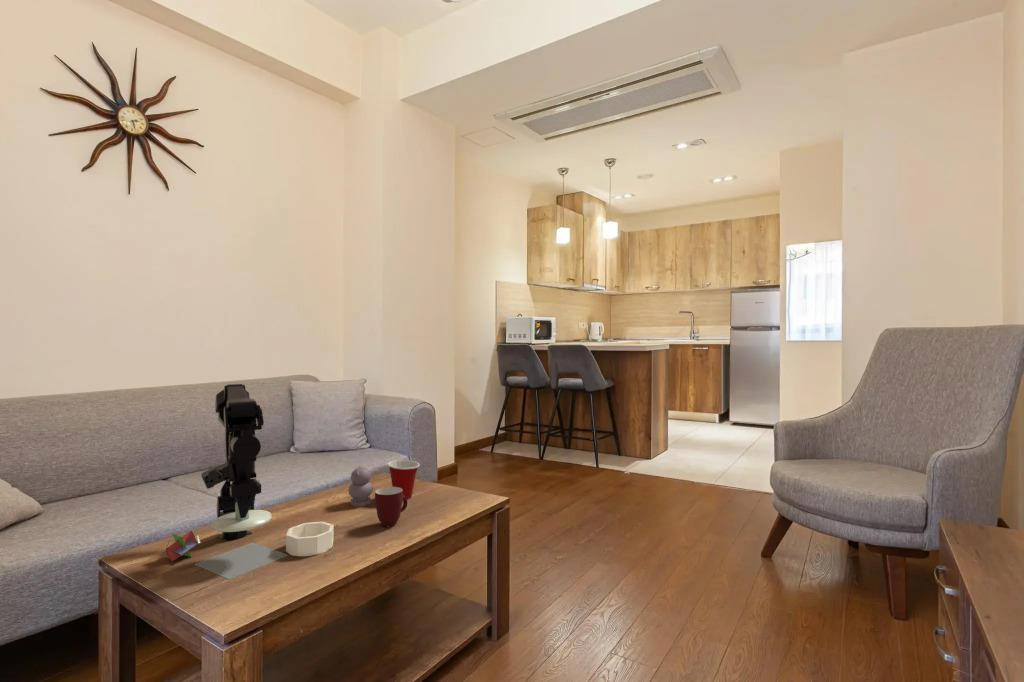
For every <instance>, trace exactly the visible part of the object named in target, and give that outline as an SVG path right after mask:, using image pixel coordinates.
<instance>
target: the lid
mask: <svg viewBox="0 0 1024 682" xmlns="http://www.w3.org/2000/svg"><path fill="white" fill-rule="evenodd" d="M271 520H272V513H271V512H270V511H268V510H264V509H263V510H262V509H254V510H249V511H248V513H247V515H246V517H245V518H240V514H239V509H238V504H237V502H236V503H235V512H233V513H229V514H226V515H223V516H220V517H218V518H217V517H216V518H215V519H214V520H212V521H211V525H210V526H211V529H212V530H213V531H216V532H221V533H223V532H237V531H244V530H247V531H249V530H252V529H257V528H259V527H262V526H264V525H266V524H268V523H270V522H271Z"/></svg>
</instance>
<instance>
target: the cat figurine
mask: <svg viewBox="0 0 1024 682" xmlns="http://www.w3.org/2000/svg"><path fill="white" fill-rule="evenodd" d="M371 479H372V472H371V470H370V469H368V468H367V467H364V466H361V464H359V465H358V467H356V468H355V469H353V470H352V472H351V474H350V480H351V484H350V485H349V486H348V495H349V496H350V498H351V499H350V506H352V505H353V507H364V506H363V505H365V506H368V505H370V504H371V497H370V496H371V495H372V493H373V491H374V485H373V484H372V483H371ZM369 503H370V504H369ZM367 504H368V505H367Z"/></svg>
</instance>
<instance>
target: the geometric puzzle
mask: <svg viewBox="0 0 1024 682" xmlns="http://www.w3.org/2000/svg"><path fill="white" fill-rule="evenodd" d="M186 532H187V533H186V534H184V535H183V536H180V535H176V534H175V533H174V534H173V533H171V536H170V537H172V538H173V539H174V542H173V543H172V544H171V545H169V544H170V541H168V542H167V545H168V546H167V547H166V548H165V549H164V550H165V553H167V555H168V558H169V560H170V562H175V561H177V560H178V559H179V558H181V557H182V556H183V557H185V558H189V559H190V558H192V556H191V553H190V550H192V549H194V547H197V546H198V544H201V538H200V535H199V534H198V535H197V534H196V537H195V533H194V531H193V530H189V531H186ZM181 533H183V532H180V534H181ZM196 549H197V548H195V550H194V552H193V554H194V553H195V552H196Z"/></svg>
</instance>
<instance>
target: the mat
mask: <svg viewBox="0 0 1024 682" xmlns="http://www.w3.org/2000/svg"><path fill="white" fill-rule="evenodd" d="M288 556H289V554H288V553H284V552H281V551H278V550H276V549H273V548H269V547H267V546H265V545H261V544H259V543H257V542H251V543H248V544H245V545H242V546H240V547H237V548H234V549H231V550H229V551H226V552H223V553H221V554H218V555H214V556H212V557H210V558H207V559H203V560H201V561H198V562H196V563H193V565H195V566H196V567H199V568H201V569H203V570H206V571H209V572H211V573H213V574H215V575H218V576H220V577H222V578H225V579H227V580H233V579H234V578H237V577H240V576H241V575H244V574H246V573H249V572H251V571H252V572H253V570H256V569H259V568H261V567H263V566H266V565H270V564H271V563H273V562H276V561H278V560H280V559H283V558H286V557H288Z"/></svg>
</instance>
